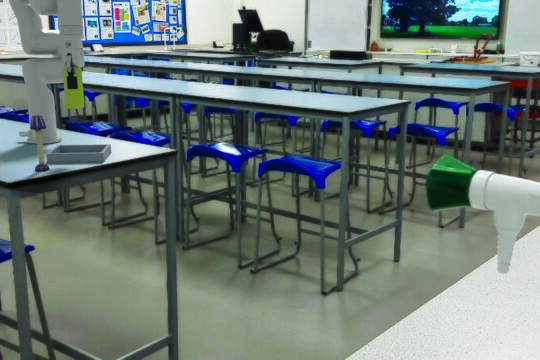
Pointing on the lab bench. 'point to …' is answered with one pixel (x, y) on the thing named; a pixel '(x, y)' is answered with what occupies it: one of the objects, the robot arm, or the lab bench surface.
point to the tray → (79, 153)
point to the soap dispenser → (74, 90)
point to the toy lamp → (39, 140)
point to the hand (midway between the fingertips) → (74, 87)
